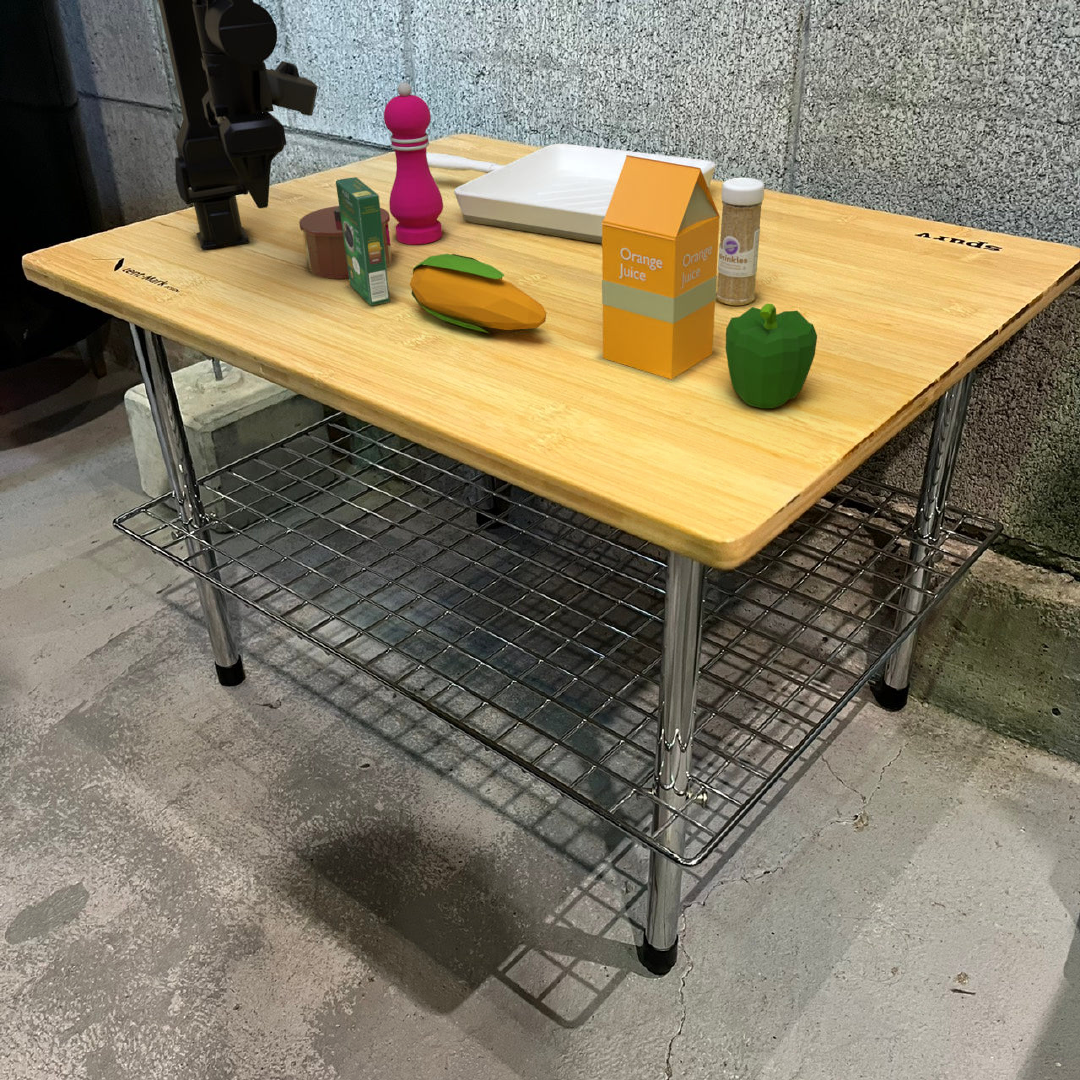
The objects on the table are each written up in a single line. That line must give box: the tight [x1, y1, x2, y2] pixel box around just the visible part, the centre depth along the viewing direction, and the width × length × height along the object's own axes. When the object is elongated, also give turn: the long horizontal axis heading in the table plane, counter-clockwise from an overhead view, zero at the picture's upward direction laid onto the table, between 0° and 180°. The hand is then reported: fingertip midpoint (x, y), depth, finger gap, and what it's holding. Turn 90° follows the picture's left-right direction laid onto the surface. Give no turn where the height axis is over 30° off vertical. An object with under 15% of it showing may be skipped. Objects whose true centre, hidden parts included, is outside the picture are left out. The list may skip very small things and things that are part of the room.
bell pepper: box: [725, 303, 818, 409], centre depth 103 cm, size 8×8×10 cm
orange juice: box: [601, 155, 721, 380], centre depth 109 cm, size 8×9×20 cm
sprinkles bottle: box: [716, 177, 765, 306], centre depth 123 cm, size 5×5×14 cm
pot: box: [302, 222, 393, 280], centre depth 140 cm, size 11×11×6 cm
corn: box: [409, 253, 547, 334], centre depth 121 cm, size 7×8×20 cm
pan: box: [426, 143, 717, 245], centre depth 159 cm, size 28×45×5 cm, turn 58°
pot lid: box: [298, 205, 391, 237], centre depth 138 cm, size 11×11×2 cm
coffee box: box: [335, 176, 391, 307], centre depth 129 cm, size 8×3×13 cm, turn 26°
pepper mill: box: [383, 81, 444, 246], centre depth 144 cm, size 7×7×20 cm
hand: (256, 196), depth 124 cm, fingers open, 9 cm apart
